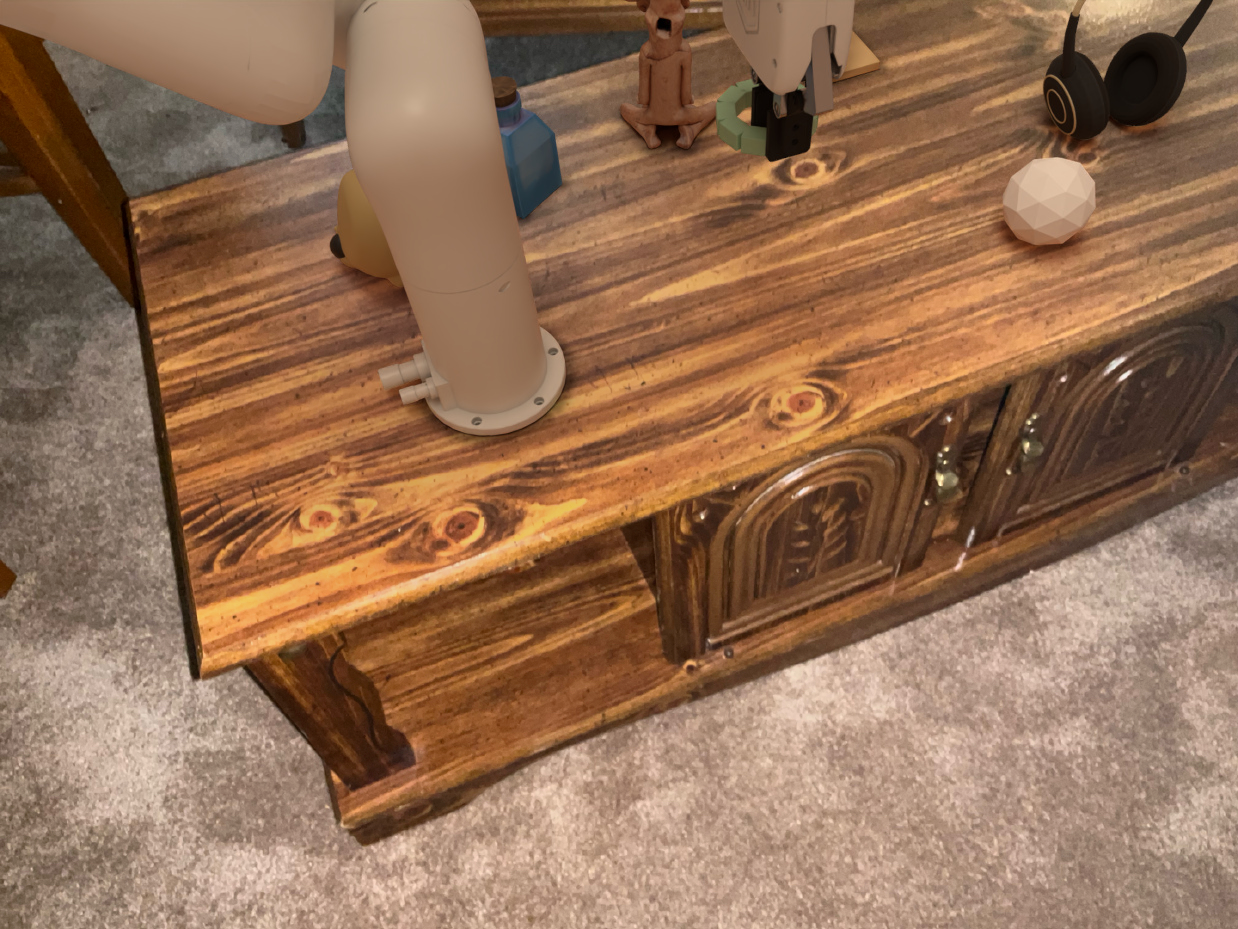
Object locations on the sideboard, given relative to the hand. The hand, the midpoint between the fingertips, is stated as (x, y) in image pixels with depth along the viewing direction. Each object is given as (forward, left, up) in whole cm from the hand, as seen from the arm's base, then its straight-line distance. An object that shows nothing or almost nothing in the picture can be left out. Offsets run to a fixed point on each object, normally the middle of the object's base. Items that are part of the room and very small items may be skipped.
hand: (779, 141), depth 68 cm
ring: (0, +3, 0) cm, 3 cm away
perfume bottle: (-15, +27, -21) cm, 37 cm away
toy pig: (-29, +22, -21) cm, 42 cm away
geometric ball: (+28, +1, -21) cm, 35 cm away
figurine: (+2, +30, -21) cm, 37 cm away
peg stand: (+23, +34, -20) cm, 46 cm away
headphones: (+42, +12, -21) cm, 49 cm away
